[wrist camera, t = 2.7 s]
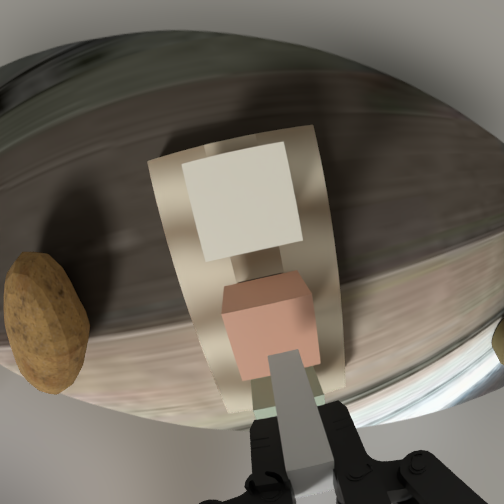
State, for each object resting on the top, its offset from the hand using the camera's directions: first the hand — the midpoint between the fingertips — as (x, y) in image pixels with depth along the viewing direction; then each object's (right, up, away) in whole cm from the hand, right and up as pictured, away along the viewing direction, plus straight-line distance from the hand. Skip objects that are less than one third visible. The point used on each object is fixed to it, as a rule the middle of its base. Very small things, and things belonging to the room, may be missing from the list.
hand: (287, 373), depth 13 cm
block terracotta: (-1, +2, +8) cm, 9 cm away
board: (-1, +3, +11) cm, 11 cm away
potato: (-21, +1, +10) cm, 23 cm away
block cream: (-3, +10, +6) cm, 12 cm away
